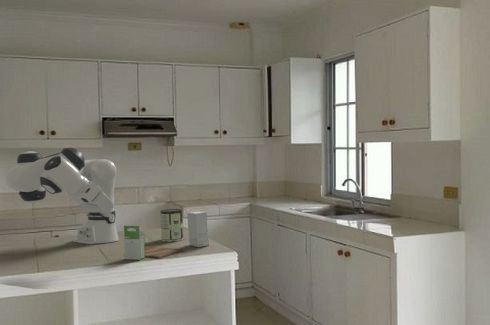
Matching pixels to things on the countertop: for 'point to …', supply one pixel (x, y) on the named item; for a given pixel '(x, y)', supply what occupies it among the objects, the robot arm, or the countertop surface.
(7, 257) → the countertop surface
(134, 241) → the ink box
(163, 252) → the walnut board
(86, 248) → the countertop surface
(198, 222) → the skincare box
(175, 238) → the coffee can
